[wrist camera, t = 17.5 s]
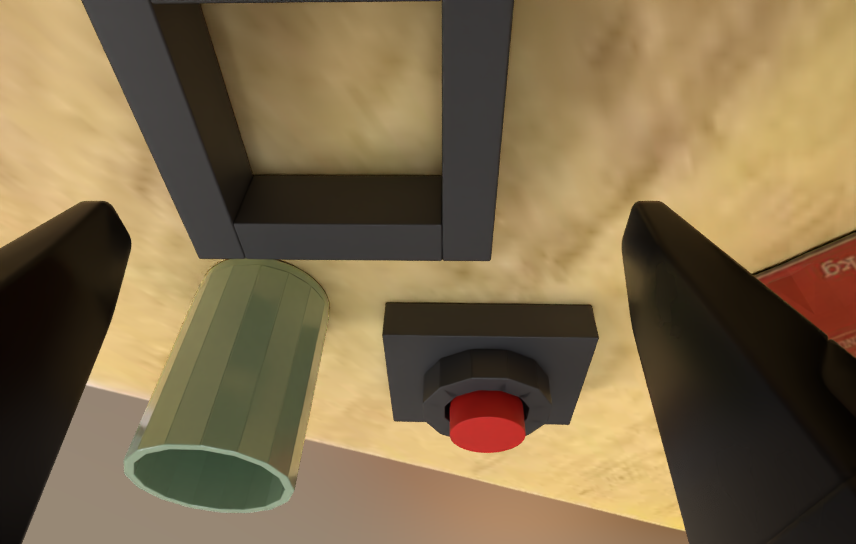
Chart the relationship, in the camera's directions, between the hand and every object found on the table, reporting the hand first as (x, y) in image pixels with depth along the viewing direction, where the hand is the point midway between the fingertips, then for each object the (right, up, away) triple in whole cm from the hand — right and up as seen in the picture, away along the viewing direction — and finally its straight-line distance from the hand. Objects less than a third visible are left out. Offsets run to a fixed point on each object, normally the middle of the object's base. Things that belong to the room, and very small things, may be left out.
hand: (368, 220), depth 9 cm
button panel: (+4, -6, +23) cm, 24 cm away
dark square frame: (-2, +6, +11) cm, 13 cm away
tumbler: (-8, -2, +20) cm, 22 cm away
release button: (+4, -8, +21) cm, 23 cm away
